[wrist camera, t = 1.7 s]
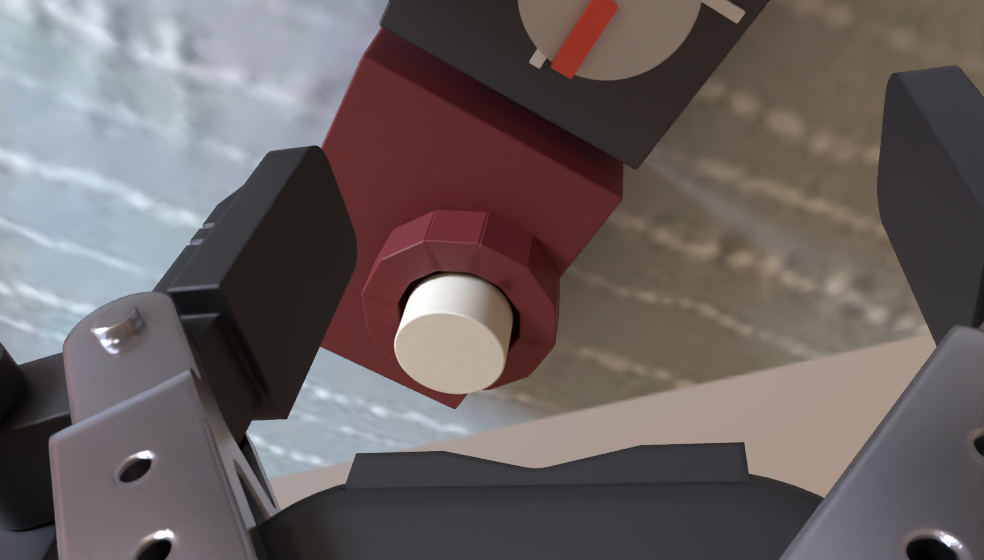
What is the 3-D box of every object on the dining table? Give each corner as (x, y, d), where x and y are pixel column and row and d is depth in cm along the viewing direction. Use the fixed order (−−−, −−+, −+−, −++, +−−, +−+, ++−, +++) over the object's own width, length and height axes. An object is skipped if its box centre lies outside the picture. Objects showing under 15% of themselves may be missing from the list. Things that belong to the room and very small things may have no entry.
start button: (435, 254, 25) (422, 294, 24) (532, 303, 26) (526, 345, 24) (391, 323, 28) (376, 364, 26) (482, 367, 28) (473, 409, 27)
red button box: (388, 15, 25) (344, 81, 22) (643, 159, 27) (644, 243, 24) (276, 262, 33) (227, 345, 29) (483, 363, 35) (464, 453, 31)
